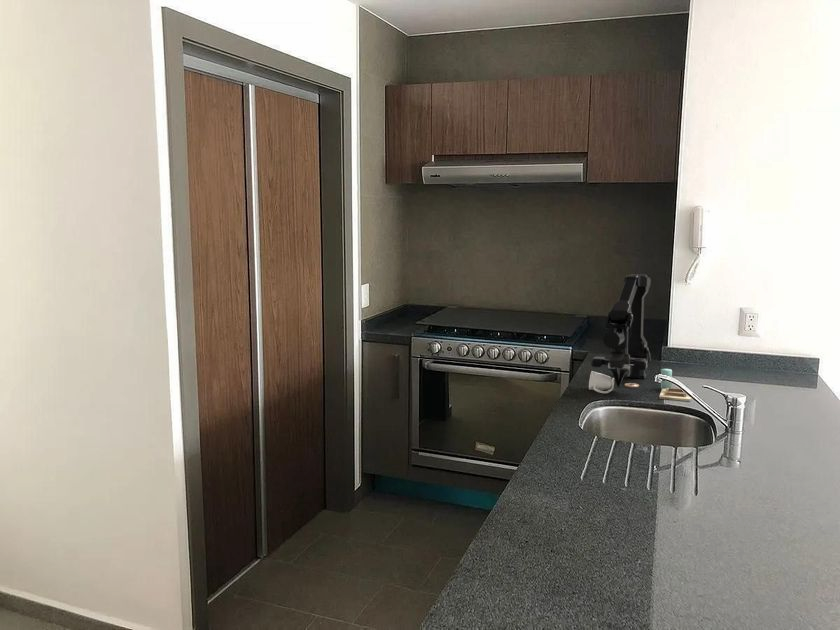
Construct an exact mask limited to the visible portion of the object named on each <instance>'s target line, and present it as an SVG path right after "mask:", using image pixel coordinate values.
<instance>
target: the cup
mask: <svg viewBox="0 0 840 630" xmlns="http://www.w3.org/2000/svg"><path fill="white" fill-rule="evenodd" d="M614 388H615V377H611V376H610V375H606V374H604V373H600V372H597V371H593V370H591V372H590V375H589V381H588V390H589V391H591V390H592V391H595V392H597V393H600V394H608V393H610V392H612V391H613V390H614Z"/></svg>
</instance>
